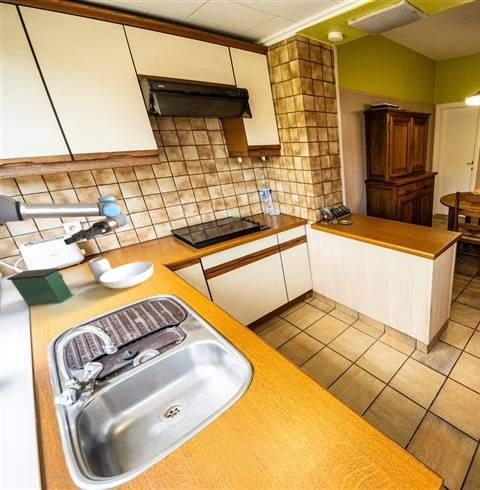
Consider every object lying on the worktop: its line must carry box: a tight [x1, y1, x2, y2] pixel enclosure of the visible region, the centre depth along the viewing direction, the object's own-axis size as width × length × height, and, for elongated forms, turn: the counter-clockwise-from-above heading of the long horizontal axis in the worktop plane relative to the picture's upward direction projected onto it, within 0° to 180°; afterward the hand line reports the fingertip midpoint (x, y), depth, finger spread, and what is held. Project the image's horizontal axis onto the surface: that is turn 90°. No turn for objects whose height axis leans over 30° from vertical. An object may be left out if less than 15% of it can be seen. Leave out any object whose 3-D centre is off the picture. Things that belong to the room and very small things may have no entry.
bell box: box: [6, 267, 73, 307], centre depth 122 cm, size 15×7×15 cm, turn 95°
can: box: [87, 256, 113, 283], centre depth 139 cm, size 8×8×12 cm
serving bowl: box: [100, 261, 154, 289], centre depth 135 cm, size 21×21×7 cm
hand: (66, 242), depth 134 cm, fingers closed
